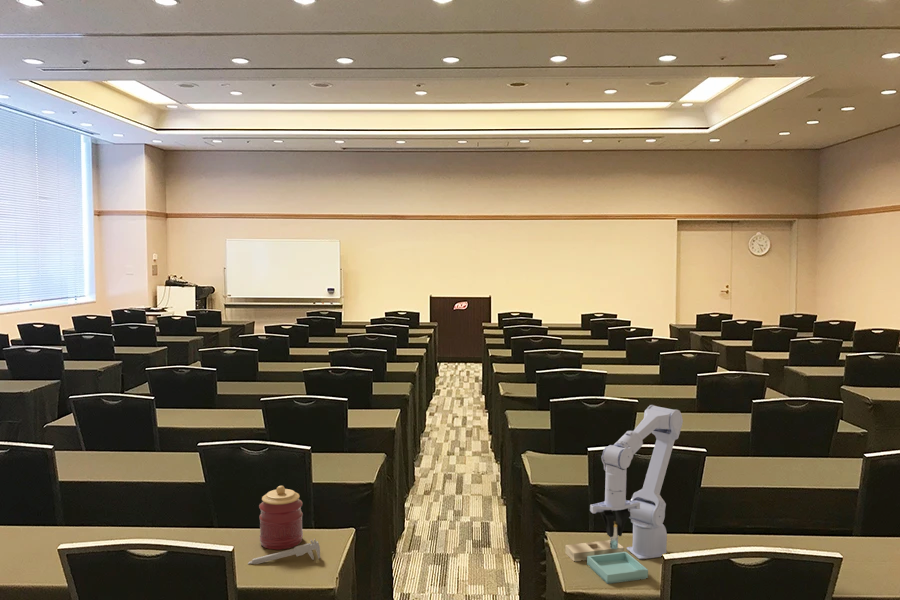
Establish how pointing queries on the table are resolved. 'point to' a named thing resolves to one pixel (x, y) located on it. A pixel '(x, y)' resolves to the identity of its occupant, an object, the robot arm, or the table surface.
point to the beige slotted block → (590, 549)
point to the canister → (281, 519)
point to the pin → (614, 537)
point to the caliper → (290, 553)
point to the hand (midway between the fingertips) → (614, 535)
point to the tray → (617, 567)
